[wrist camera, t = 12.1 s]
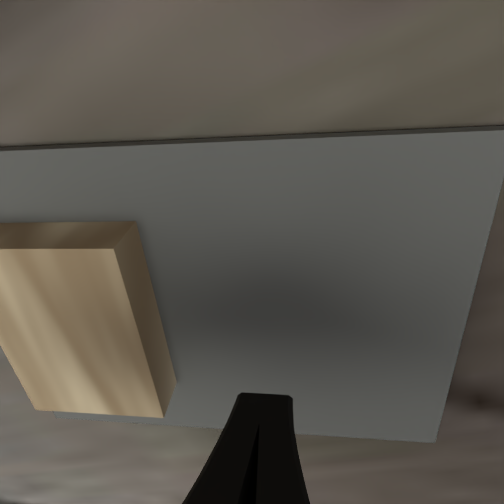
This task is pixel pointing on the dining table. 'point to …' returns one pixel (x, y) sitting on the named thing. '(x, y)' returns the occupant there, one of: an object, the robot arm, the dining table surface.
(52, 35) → the dining table surface
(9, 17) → the dining table surface
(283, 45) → the dining table surface
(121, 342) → the wooden block
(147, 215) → the mat
